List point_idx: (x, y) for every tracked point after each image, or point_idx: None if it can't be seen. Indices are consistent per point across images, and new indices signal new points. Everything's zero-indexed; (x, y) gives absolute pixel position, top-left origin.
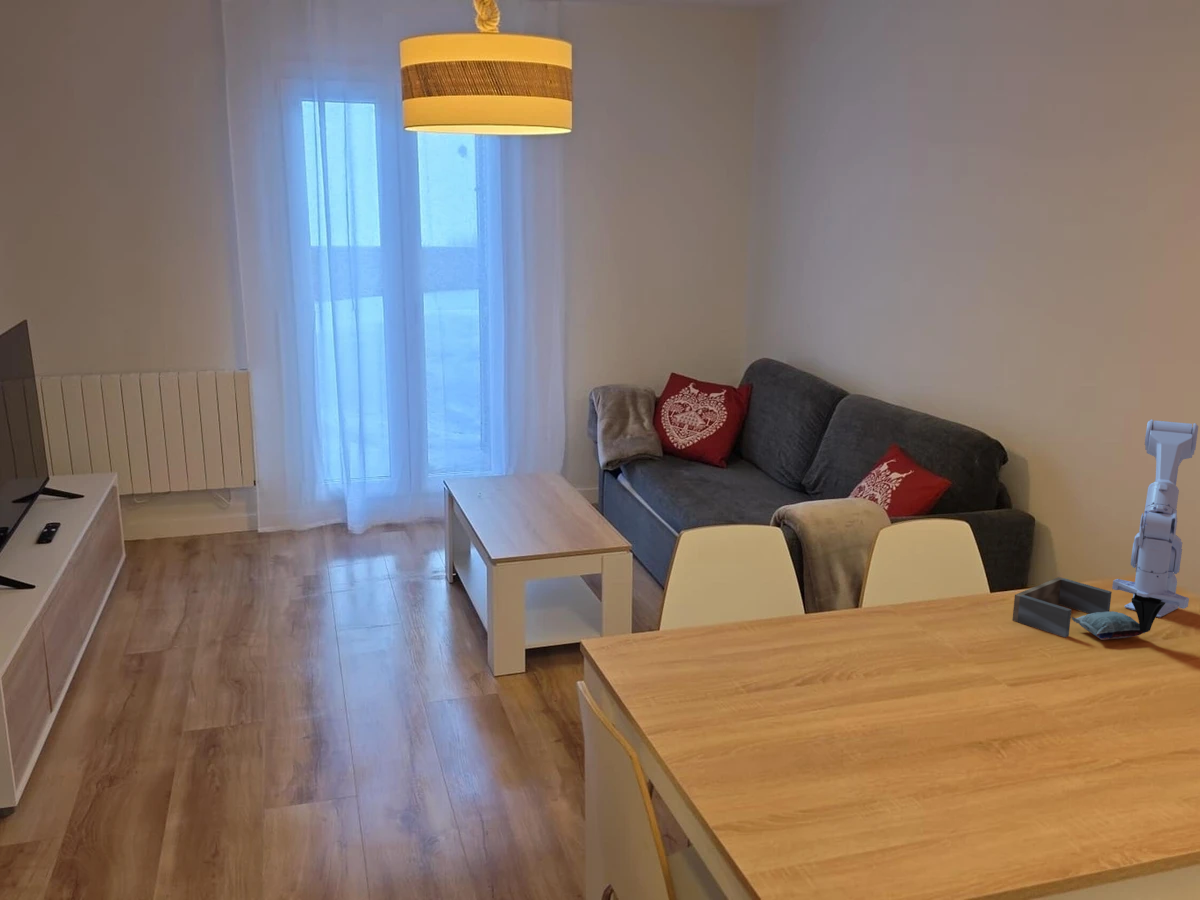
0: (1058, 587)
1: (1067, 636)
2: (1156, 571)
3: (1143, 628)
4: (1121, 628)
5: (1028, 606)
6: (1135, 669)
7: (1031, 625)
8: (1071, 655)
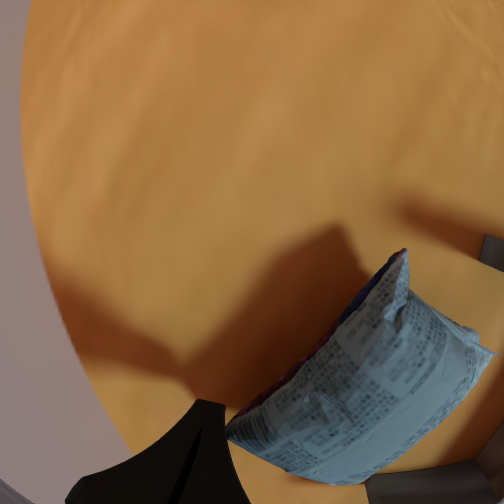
0: (497, 483)
1: (481, 252)
2: None
3: (203, 410)
4: (306, 374)
5: None
6: (162, 71)
7: None
8: (414, 52)
